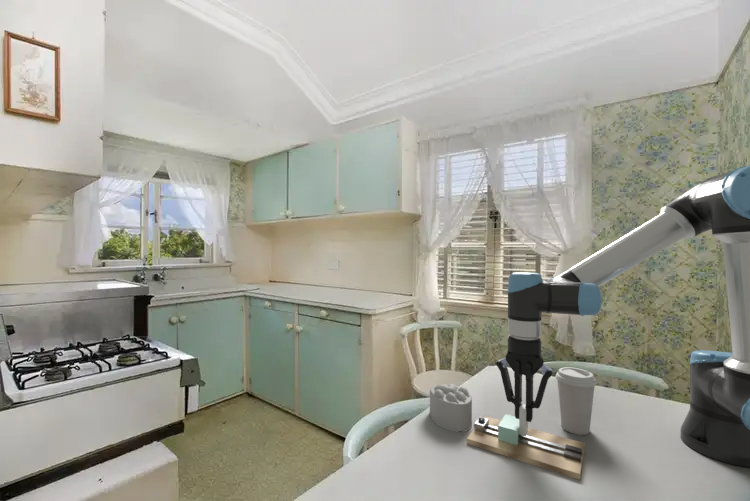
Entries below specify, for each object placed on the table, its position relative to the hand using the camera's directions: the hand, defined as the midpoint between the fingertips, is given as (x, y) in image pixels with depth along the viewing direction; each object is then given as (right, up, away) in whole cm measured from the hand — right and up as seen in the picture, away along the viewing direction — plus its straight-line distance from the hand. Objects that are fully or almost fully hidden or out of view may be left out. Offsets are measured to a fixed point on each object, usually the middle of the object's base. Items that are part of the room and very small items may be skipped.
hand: (523, 432), depth 84 cm
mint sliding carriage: (-2, -2, +2) cm, 3 cm away
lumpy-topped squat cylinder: (-15, -3, +13) cm, 20 cm away
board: (0, -3, 0) cm, 3 cm away
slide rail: (0, -2, 0) cm, 2 cm away
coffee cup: (+17, -3, +8) cm, 19 cm away
